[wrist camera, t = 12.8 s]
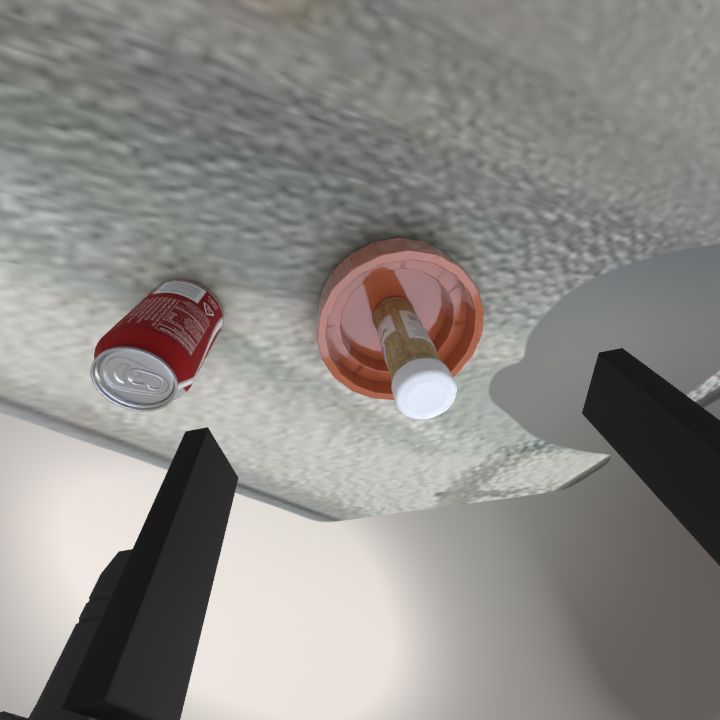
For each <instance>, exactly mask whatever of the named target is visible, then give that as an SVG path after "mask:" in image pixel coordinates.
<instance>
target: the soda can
mask: <svg viewBox="0 0 720 720" xmlns="http://www.w3.org/2000/svg"><path fill="white" fill-rule="evenodd" d="M222 324H223V312H222V309H221V306H220V304H219V302H218V301H217V299H216V298H215V297H214V296H213V294H212V293H210V292H209V291H208V290H207V289H205V288H204V287H202V286H200V285H198V284H196V283H194V282H190V281H186V280H171V281H167V282H164V283H162V284H160V285H159V286H158V287H156V288H155V289H154V290H153V291H152V292H151V293H150V294H149V295H148V296H147V297H146V298H144V299H143V300H142V301H141V302H140V303H139V304H138V305H137V306H136V307H135V308H134V309H132V310H131V311H130V312H129V313H128V314H127V315H126V316H125V317H124V318H123V319H122V320H121V321H119V322H118V323H117V324H116V325H115V326H114V327H113V328H112V329H111V330H110V331H109V332H107V333H106V334H105V335H104V336H103V337H102V338H101V339H100V341H99V342H98V344H97V346H96V348H95V353H94V361H93V363H92V365H91V371H90V373H91V379H92V381H93V384H94V385H95V387H96V388H97V390H98V391H99V392H100V393H101V394H102V395H103V396H104V397H105V398H106V399H108V400H109V401H111V402H112V403H114V404H116V405H118V406H121V407H123V408H126V409H130V410H134V411H155V410H159V409H161V408H164V407H165V406H167V405H168V404H170V403H171V402H172V401H173V400H175V399H177V398H179V397H181V396H182V395H184V394H185V393H186V392H187V391H188V390H189V388H190V387H191V385H192V383H193V381H194V380H195V378H196V376H197V374H198V372H199V370H200V368H201V366H202V364H203V362H204V360H205V358H206V356H207V355H208V353H209V351H210V349H211V347H212V345H213V343H214V341H215V339H216V337H217V335H218V333H219V331H220V330H221V327H222Z"/></svg>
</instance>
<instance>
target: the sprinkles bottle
mask: <svg viewBox="0 0 720 720" xmlns="http://www.w3.org/2000/svg"><path fill="white" fill-rule="evenodd" d="M373 323H374V327H375V328H376V330H377V333H378V339H379V342H380V345H381V348H382V352H383V355H384V358H385V362H386V365H387V367H388V369H389V373H390V376H391V380H392V386H391V387H392V393H393V397H394V400H395V403H396V405H397V407H398V409H399V410H400V411H401V412H402V413H403V414H404V415H406V416H408V417H411V418H414V419H428V418H432V417H435V416H437V415H439V414H441V413H443V412H444V411H446V410H447V409H448V408H449V407H450V406H451V404H452V403H453V401H454V399H455V397H456V393H457V387H456V383H455V381H454V379H453V377H452V375H451V373H450V371H449V369H448V368H447V366H446V365H445V364H444V363H442V361H441V359H440V358H439V356H438V354H437V351H436V349H435V346H434V345H433V343H432V341H431V339H430V337H429V335H428V334H427V332H426V330H425V328H424V326H423V324H422V323H421V321H420V319H419V318H418V317H417V315H416V312H415V309H414V307H413V305H412V304H411V303H410V302H409V301H408V300H406V299H404V298H401V297H391V298H387V299H385V300H383V301H382V302H381V303H380V304H379V305H378V306H377V307H376V309H375V311H374V314H373Z"/></svg>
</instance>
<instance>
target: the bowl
mask: <svg viewBox="0 0 720 720" xmlns="http://www.w3.org/2000/svg"><path fill="white" fill-rule="evenodd" d="M391 297H401V298H404V299H406V300H408V301H409V302H410V303H411V304H412V305H413V307H414V309H415V312H416V315H417V317H418V318H419V319H420V321H421V323H422V324H423V326H424V328H425V330H426V332H427V334H428V335H429V337H430V339H431V341H432V343H433V345H434V346H435V349H436V351H437V354H438V356H439V358H440V359H441V361H442V363H444V364H445V365H446V366H447V368H448V369H449V371H450V373H451V375H452V377H454V376H455V375H456V374H458V373H459V372H460V370H461V369H462V368H463V367H464V365H465V364H466V363H467V362H468V361H469V359H470V358H471V357H472V356H473V354H474V352H475V349H476V347H477V344H478V342H479V340H480V337H481V335H482V329H483V316H484V308H483V305H482V301H481V298H480V295H479V291H478V288H477V286H476V285H475V283H474V282H473V281H472V280H471V278H470V277H469V276H468V275H467V273H466V272H465V271H464V270H463V269H462V267H460V266H459V265H458V264H457V263H456V262H455V261H454V260H453V259H452V258H451V257H450V256H449V255H448V254H446V253H445V252H443V251H441V250H439V249H438V248H436V247H434V246H432V245H431V244H429V243H427V242H424V241H418V240H412V239H407V238H394V239H388V240H382V241H375V242H373V243H371V244H369V245H367V246H365V247H363V248H361V249H359V250H357V251H355V252H353V253H351V254H349V255H348V256H347V257H346V258H345V259H344V260H343V261H342V262H341V263H340V264H339V265H338V266H337V267H336V268H335V269H334V270H333V271H332V272H331V274H330V276H329V278H328V280H327V282H326V284H325V286H324V288H323V290H322V292H321V294H320V300H319V308H318V316H317V340H318V344H319V348H320V353H321V357H322V360H323V361H324V363H325V364H326V366H327V367H328V369H329V370H330V372H331V373H332V375H333V376H334V377H335V378H336V379H337V380H338V381H340V382H341V383H342V384H344V385H345V386H346V387H347V388H349V389H350V390H352V391H354V392H356V393H359V394H362V395H365V396H367V397H370V398H376V399H389V400H394V397H393V393H392V387H391V386H392V380H391V376H390V373H389V369H388V367H387V365H386V362H385V358H384V355H383V352H382V348H381V345H380V342H379V339H378V333H377V330H376V328H375V327H374V323H373V314H374V311H375V309H376V307H377V306H378V305H379V304H380V303H381V302H382V301H383V300H385V299H387V298H391Z"/></svg>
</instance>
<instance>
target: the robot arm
mask: <svg viewBox="0 0 720 720" xmlns="http://www.w3.org/2000/svg"><path fill="white" fill-rule="evenodd" d="M582 414H583V415H584V416H585V417H586V418H587V419H588V420H589V422H590V423H591V424H592V425H593V426H594V427H595V428H596V429H597V430H598V432H599V433H600V434H601V435H602V436H603V437H604V438H605V439H606V440H607V441H608V443H609V444H610V445H611V446H612V447H613V448H614V449H615V450H616V451H617V453H618V454H619V455H620V456H621V457H622V458H623V459H624V460H625V461H626V463H627V464H628V465H629V466H630V467H631V468H632V469H633V470H634V471H635V472H636V474H637V475H638V476H639V477H640V478H641V479H642V480H643V481H644V482H645V483H646V485H647V486H648V487H649V488H650V489H651V490H652V491H653V493H654V494H655V495H656V496H657V497H658V498H659V499H660V500H661V501H662V502H663V504H664V505H665V506H666V507H667V508H668V509H669V510H670V511H671V512H672V514H673V515H674V516H675V517H676V518H677V519H678V520H679V521H680V522H681V523H682V525H683V526H684V527H685V528H686V529H687V530H688V531H689V532H690V533H691V535H692V536H693V537H694V538H695V539H696V540H697V541H698V542H699V544H700V545H701V546H702V547H703V548H704V549H705V550H706V551H707V552H708V553H709V555H710V556H711V557H712V558H713V559H714V560H715V561H716V562H717V563H718V564H719V566H720V420H718V419H717V418H716V417H714V416H713V415H712V414H710V413H709V412H708V411H706V410H705V409H704V408H702V407H701V406H700V405H698V404H697V403H696V402H694V401H693V400H692V399H690V398H689V397H687V396H686V395H685V394H683V393H682V392H681V391H679V390H678V389H677V388H675V387H674V386H673V385H671V384H670V383H669V382H667V381H666V380H665V379H663V378H662V377H661V376H659V375H658V374H656V373H655V372H654V371H652V370H651V369H650V368H648V367H647V366H646V365H644V364H643V363H641V362H640V361H639V360H638V359H636V358H635V357H633V356H632V355H631V354H630V353H628V352H627V351H625V350H624V349H623V348H621V349H615V350H610V351H605V352H600V353H599V354H598V358H597V362H596V365H595V368H594V372H593V376H592V380H591V383H590V386H589V390H588V394H587V397H586V401H585V405H584V408H583V412H582ZM237 481H238V476H237V475H236V473H235V471H234V470H233V468H232V467H231V465H230V463H229V462H228V460H227V458H226V457H225V455H224V453H223V452H222V450H221V448H220V447H219V445H218V443H217V442H216V440H215V439H214V437H213V435H212V434H211V432H210V430H209V429H208V427H207V428H202V429H197V430H192V431H186V432H185V434H184V436H183V438H182V441H181V443H180V445H179V447H178V450H177V452H176V454H175V456H174V458H173V461H172V463H171V465H170V467H169V470H168V472H167V474H166V476H165V479H164V481H163V483H162V485H161V487H160V490H159V492H158V494H157V496H156V499H155V501H154V503H153V505H152V508H151V510H150V512H149V514H148V516H147V519H146V521H145V523H144V525H143V528H142V530H141V532H140V534H139V537H138V539H137V541H136V543H135V545H134V548H133V549H131V550H125V551H120V552H118V553H117V555H116V556H115V557H114V558H113V559H112V561H111V562H110V563H109V565H108V566H107V567H106V568H105V569H104V571H103V572H102V573H101V575H100V577H99V579H98V581H97V583H96V585H95V587H94V589H93V591H92V593H91V595H90V597H89V599H90V600H89V602H88V603H86V605H85V607H84V609H83V611H82V613H81V615H80V617H79V623H78V624H76V626H75V628H74V629H73V631H72V634H71V635H70V637H69V639H68V641H67V644H66V646H65V648H64V650H63V652H62V654H61V656H60V658H59V660H58V662H57V664H56V666H55V668H54V670H53V672H52V674H51V676H50V678H49V680H48V682H47V684H46V686H45V688H44V690H43V692H42V694H41V696H40V698H39V700H38V702H37V704H36V706H35V708H34V709H33V711H32V713H31V715H30V717H29V718H25V717H21V716H18V715H14V714H11V713H7V712H4V711H3V712H0V720H180V718H181V713H182V710H183V705H184V701H185V697H186V693H187V689H188V685H189V681H190V676H191V672H192V668H193V664H194V660H195V656H196V651H197V647H198V643H199V639H200V635H201V631H202V626H203V622H204V618H205V614H206V610H207V606H208V602H209V597H210V593H211V589H212V585H213V581H214V576H215V572H216V568H217V564H218V560H219V556H220V552H221V547H222V543H223V539H224V535H225V531H226V527H227V523H228V518H229V514H230V510H231V506H232V502H233V497H234V493H235V489H236V485H237Z"/></svg>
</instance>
